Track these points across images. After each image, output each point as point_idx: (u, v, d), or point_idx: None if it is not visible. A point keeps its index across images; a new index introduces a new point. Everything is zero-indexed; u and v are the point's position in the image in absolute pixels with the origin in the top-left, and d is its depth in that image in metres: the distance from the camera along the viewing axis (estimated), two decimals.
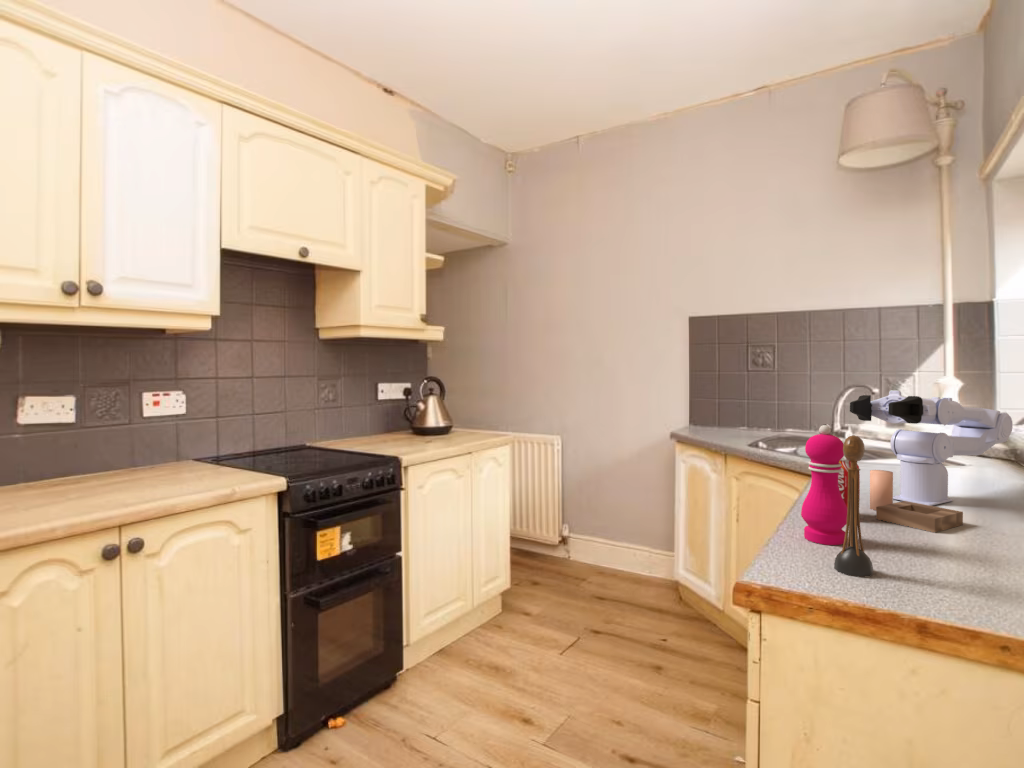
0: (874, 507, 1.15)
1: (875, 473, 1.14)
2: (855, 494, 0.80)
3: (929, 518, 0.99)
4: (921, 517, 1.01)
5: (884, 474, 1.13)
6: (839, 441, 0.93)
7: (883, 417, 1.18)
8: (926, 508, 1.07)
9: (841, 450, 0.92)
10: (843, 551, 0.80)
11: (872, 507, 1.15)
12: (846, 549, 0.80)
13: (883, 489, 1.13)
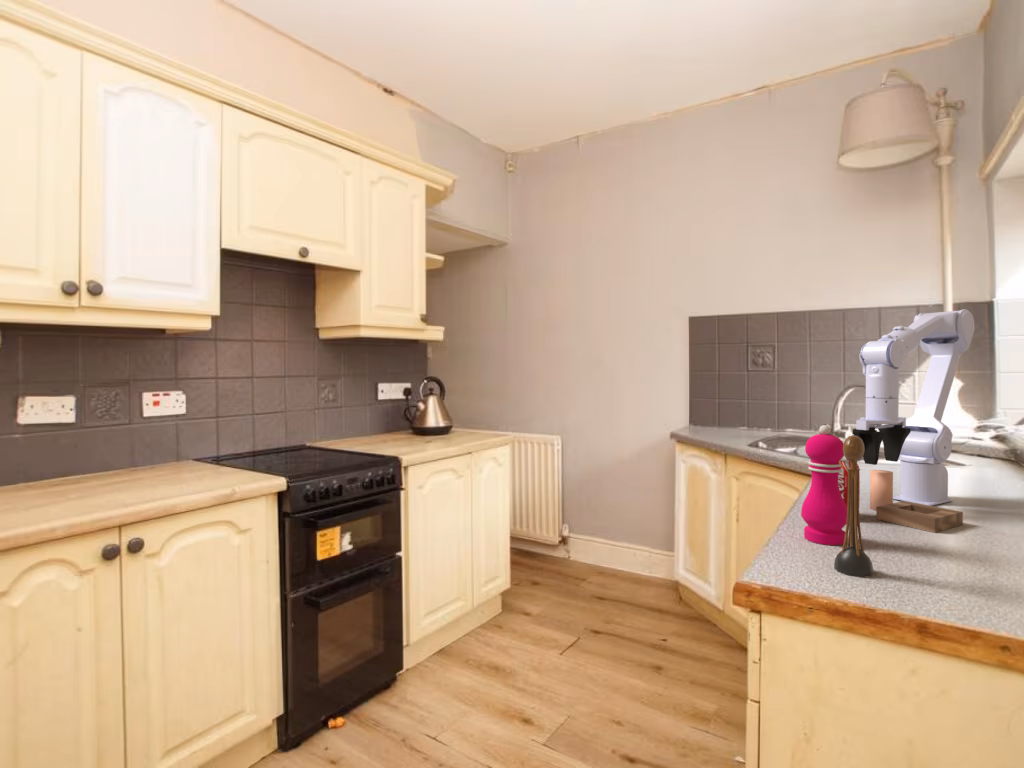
0: (874, 507, 1.15)
1: (875, 473, 1.14)
2: (855, 494, 0.80)
3: (929, 518, 0.99)
4: (921, 517, 1.01)
5: (884, 474, 1.13)
6: (839, 441, 0.93)
7: None
8: (926, 508, 1.07)
9: (841, 450, 0.92)
10: (843, 551, 0.80)
11: (872, 507, 1.15)
12: (846, 549, 0.80)
13: (883, 489, 1.13)
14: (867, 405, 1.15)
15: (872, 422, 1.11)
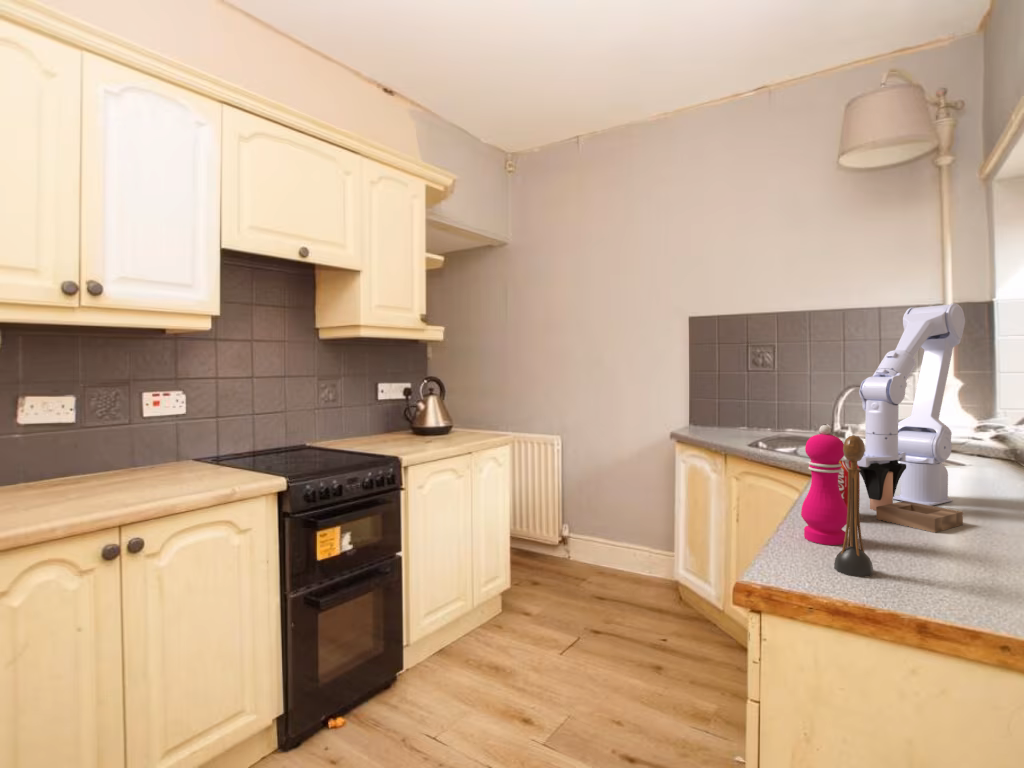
0: (874, 507, 1.15)
1: None
2: (855, 494, 0.80)
3: (929, 518, 0.99)
4: (921, 517, 1.01)
5: None
6: (839, 441, 0.93)
7: None
8: (926, 508, 1.07)
9: (841, 450, 0.92)
10: (843, 551, 0.80)
11: (872, 507, 1.15)
12: (846, 549, 0.80)
13: (883, 489, 1.13)
14: (867, 441, 1.15)
15: (872, 459, 1.11)
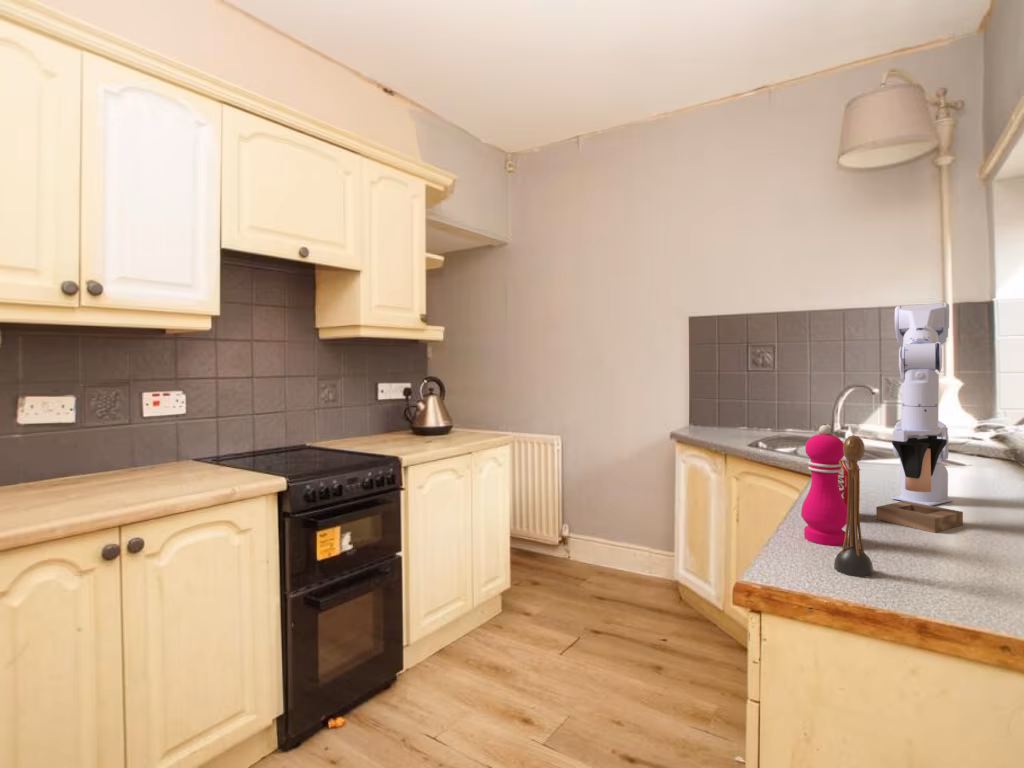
0: (910, 487, 1.05)
1: None
2: (855, 494, 0.80)
3: (929, 518, 0.99)
4: (921, 517, 1.01)
5: None
6: (839, 441, 0.93)
7: None
8: (926, 508, 1.07)
9: (841, 450, 0.92)
10: (843, 551, 0.80)
11: (908, 487, 1.05)
12: (846, 549, 0.80)
13: None
14: (903, 414, 1.05)
15: (910, 433, 1.01)
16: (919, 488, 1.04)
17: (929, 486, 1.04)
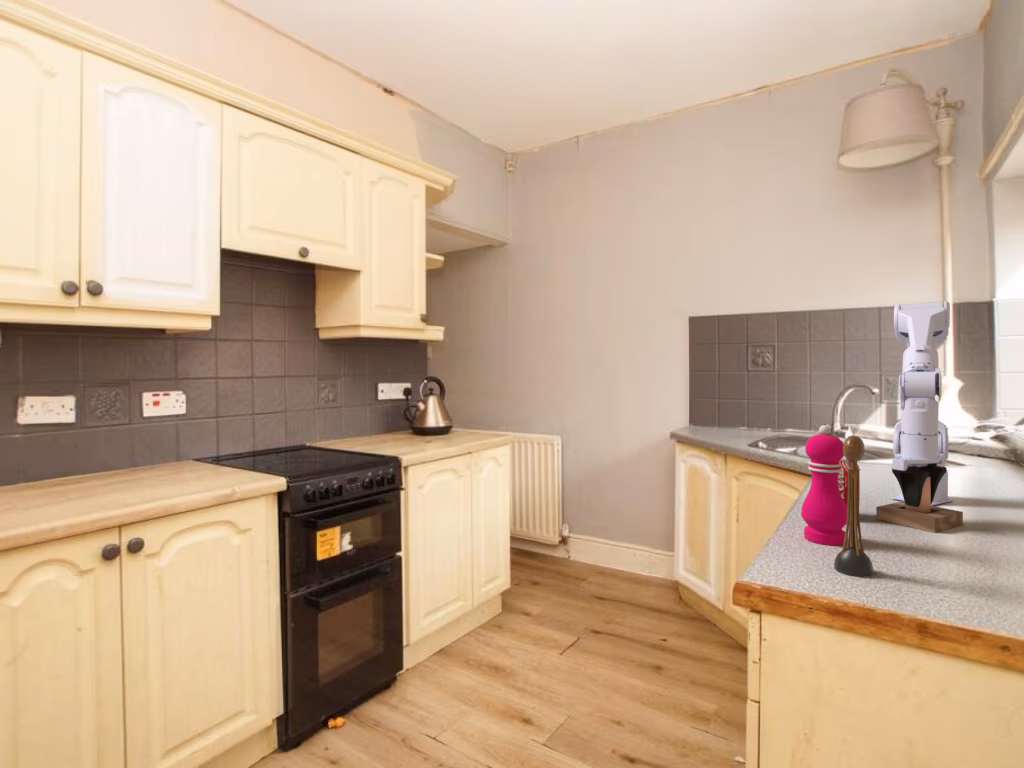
0: None
1: None
2: (855, 494, 0.80)
3: (929, 518, 0.99)
4: (921, 517, 1.01)
5: None
6: (839, 441, 0.93)
7: None
8: None
9: (841, 450, 0.92)
10: (843, 551, 0.80)
11: None
12: (846, 549, 0.80)
13: None
14: (903, 442, 1.05)
15: (910, 462, 1.01)
16: None
17: None
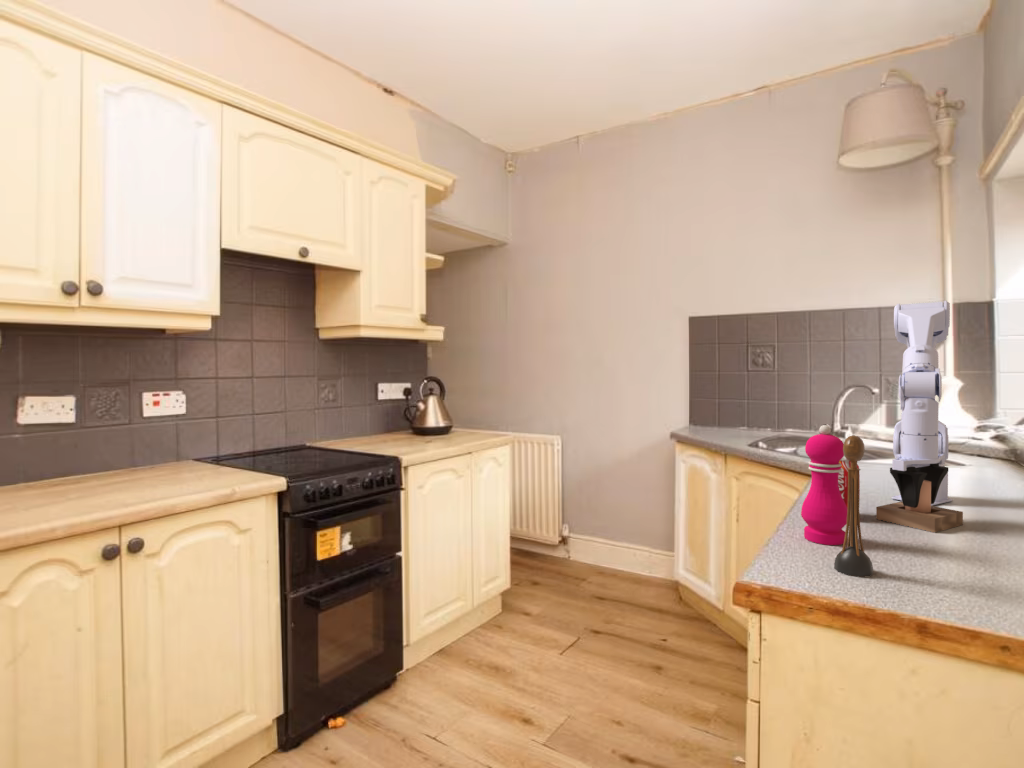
0: None
1: None
2: (855, 494, 0.80)
3: (929, 518, 0.99)
4: (921, 517, 1.01)
5: None
6: (839, 441, 0.93)
7: None
8: None
9: (841, 450, 0.92)
10: (843, 551, 0.80)
11: None
12: (846, 549, 0.80)
13: (920, 500, 1.04)
14: (903, 442, 1.05)
15: (910, 462, 1.01)
16: None
17: None
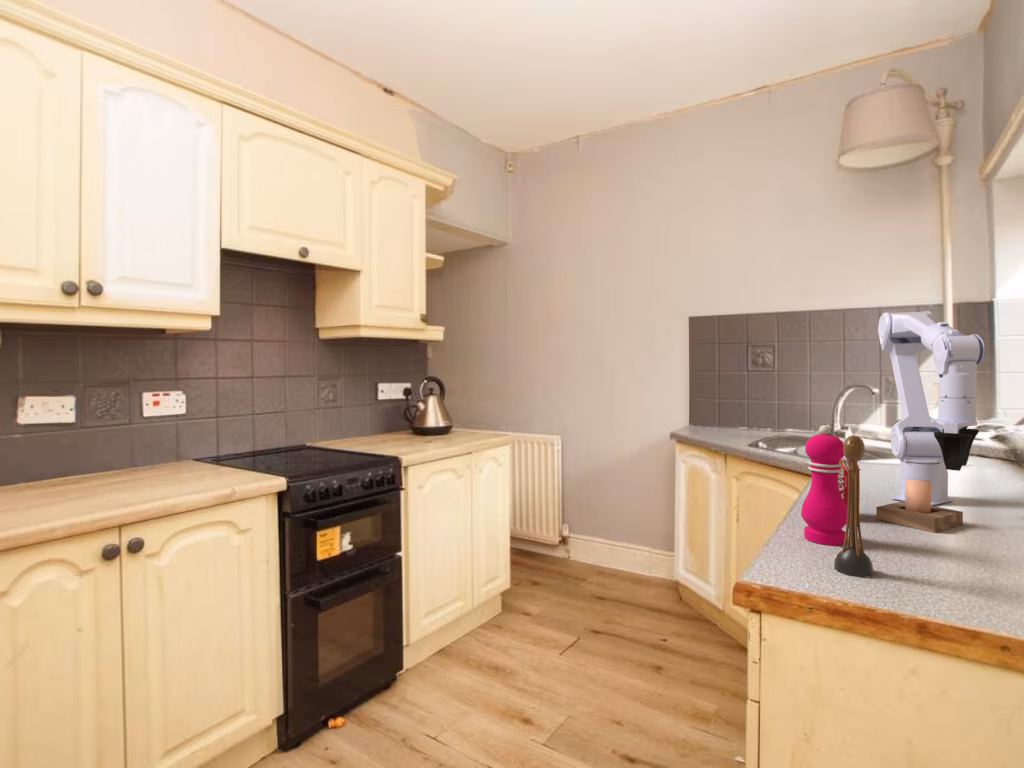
0: None
1: (911, 482, 1.05)
2: (855, 494, 0.80)
3: (929, 518, 0.99)
4: (921, 517, 1.01)
5: (921, 484, 1.04)
6: (839, 441, 0.93)
7: None
8: None
9: (841, 450, 0.92)
10: (843, 551, 0.80)
11: None
12: (846, 549, 0.80)
13: (920, 500, 1.04)
14: (944, 406, 1.06)
15: (960, 424, 1.02)
16: None
17: None
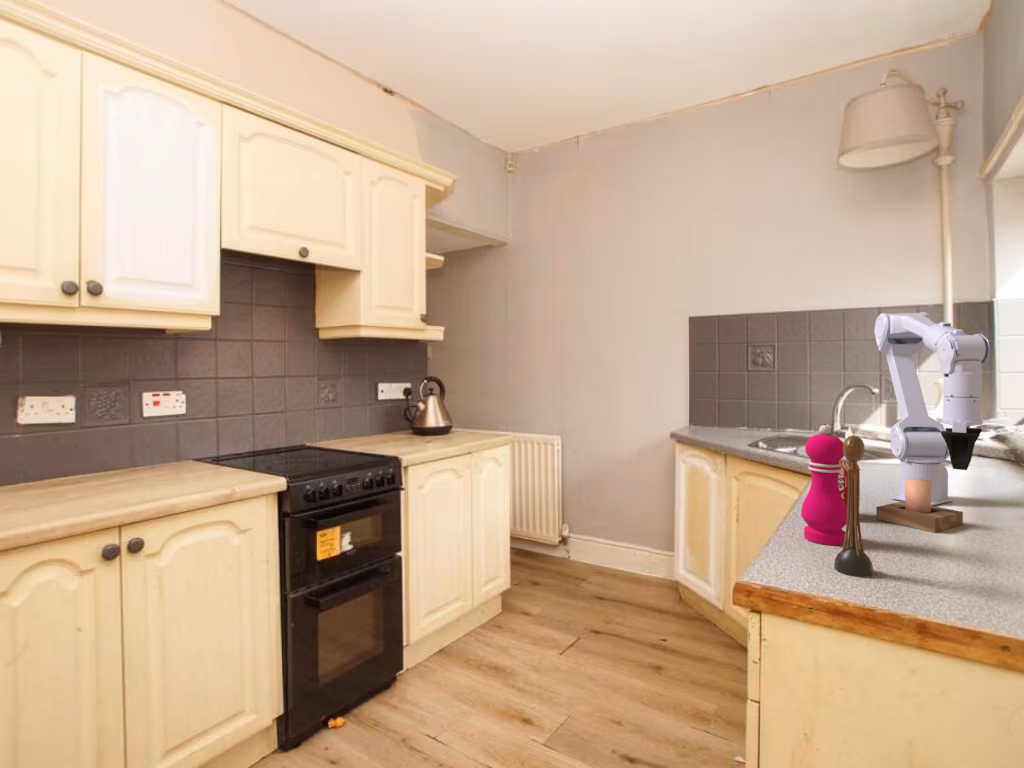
0: None
1: (911, 482, 1.05)
2: (855, 494, 0.80)
3: (929, 518, 0.99)
4: (921, 517, 1.01)
5: (921, 484, 1.03)
6: (839, 441, 0.93)
7: None
8: None
9: (841, 450, 0.92)
10: (843, 551, 0.80)
11: None
12: (846, 549, 0.80)
13: (920, 500, 1.04)
14: (950, 405, 1.06)
15: (968, 424, 1.02)
16: None
17: None
